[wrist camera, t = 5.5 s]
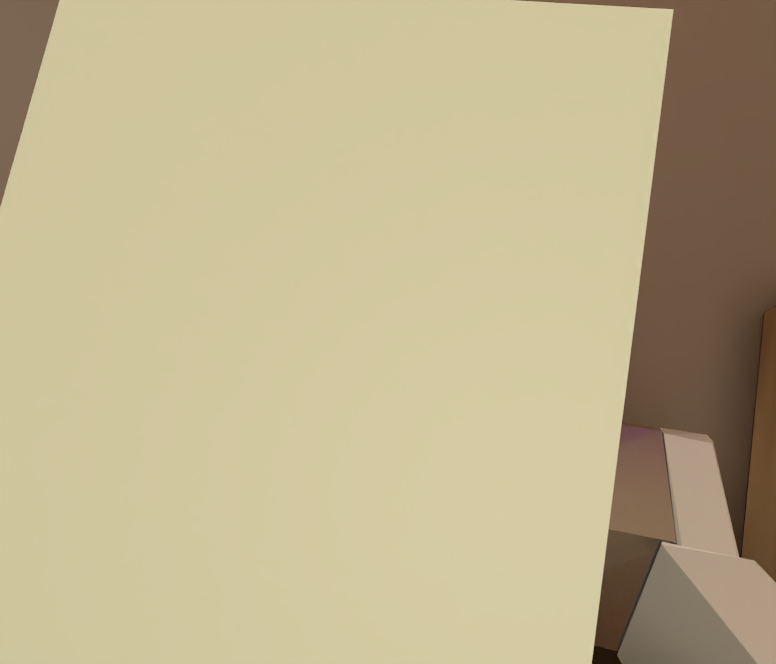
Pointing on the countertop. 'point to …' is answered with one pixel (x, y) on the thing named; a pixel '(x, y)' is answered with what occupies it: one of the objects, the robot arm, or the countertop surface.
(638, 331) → the countertop surface
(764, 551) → the wooden frame
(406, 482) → the pale olive cuboid
